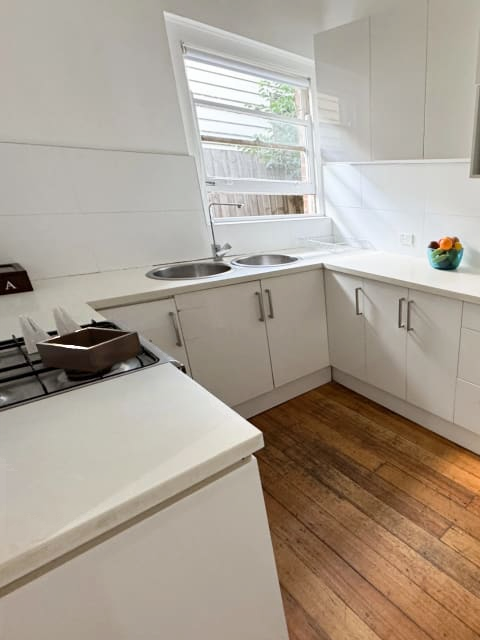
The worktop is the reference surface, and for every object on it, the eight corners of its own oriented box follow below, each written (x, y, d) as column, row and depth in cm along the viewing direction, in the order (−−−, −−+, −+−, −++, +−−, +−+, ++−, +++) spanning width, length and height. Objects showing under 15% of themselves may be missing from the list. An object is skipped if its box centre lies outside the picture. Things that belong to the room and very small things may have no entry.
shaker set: (88, 340, 107) (76, 302, 103) (87, 344, 104) (75, 305, 100) (30, 349, 101) (15, 309, 97) (28, 354, 97) (12, 313, 94)
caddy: (95, 372, 88) (87, 349, 86) (43, 365, 91) (35, 343, 89) (143, 352, 99) (137, 331, 97) (95, 347, 103) (89, 326, 100)
